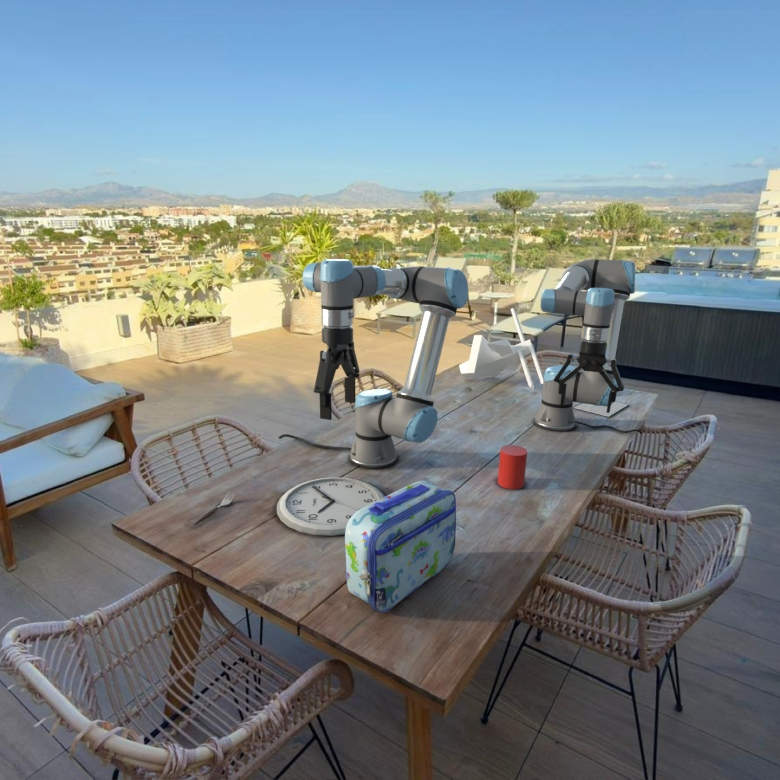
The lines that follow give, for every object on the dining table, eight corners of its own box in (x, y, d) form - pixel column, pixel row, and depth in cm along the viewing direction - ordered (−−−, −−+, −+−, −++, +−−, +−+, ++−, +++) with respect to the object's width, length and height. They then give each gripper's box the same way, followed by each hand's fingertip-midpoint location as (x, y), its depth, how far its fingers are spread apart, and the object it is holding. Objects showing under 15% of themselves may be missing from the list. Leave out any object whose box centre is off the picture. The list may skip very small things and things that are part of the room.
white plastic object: (480, 421, 262) (459, 398, 238) (462, 347, 285) (440, 320, 260) (552, 397, 250) (537, 370, 226) (527, 322, 272) (511, 290, 248)
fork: (190, 525, 132) (189, 518, 131) (229, 496, 146) (228, 490, 145) (198, 527, 131) (198, 520, 130) (237, 498, 145) (236, 491, 145)
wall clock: (392, 527, 129) (268, 531, 127) (391, 533, 130) (269, 537, 127) (383, 473, 158) (282, 475, 155) (383, 478, 158) (282, 480, 156)
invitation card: (608, 416, 214) (573, 407, 224) (608, 416, 214) (573, 408, 224) (628, 404, 229) (594, 396, 238) (628, 405, 229) (594, 397, 238)
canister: (501, 489, 153) (504, 455, 150) (495, 477, 160) (497, 444, 157) (527, 489, 153) (530, 455, 150) (520, 477, 161) (523, 445, 158)
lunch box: (374, 626, 100) (375, 530, 93) (338, 598, 107) (337, 508, 101) (459, 568, 117) (465, 484, 111) (424, 547, 124) (427, 467, 118)
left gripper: (327, 337, 112) (329, 429, 118) (372, 319, 134) (371, 397, 141) (296, 334, 115) (300, 424, 121) (345, 317, 137) (346, 394, 143)
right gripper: (549, 338, 159) (541, 404, 165) (638, 347, 148) (627, 418, 154) (554, 334, 165) (546, 398, 171) (640, 343, 154) (629, 411, 160)
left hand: (338, 410), depth 131 cm, fingers open, 13 cm apart
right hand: (584, 408), depth 163 cm, fingers open, 13 cm apart
